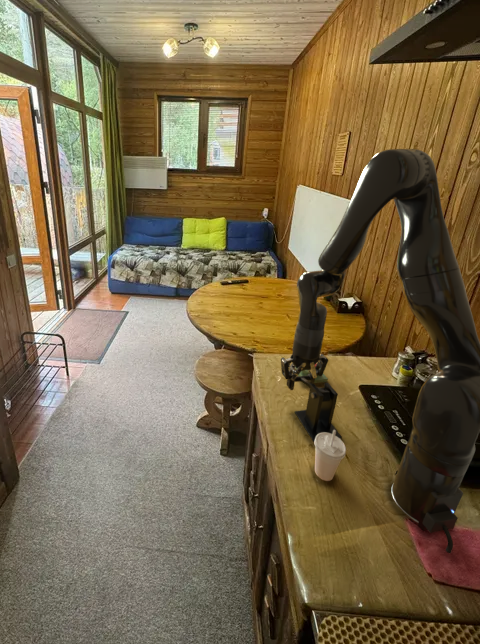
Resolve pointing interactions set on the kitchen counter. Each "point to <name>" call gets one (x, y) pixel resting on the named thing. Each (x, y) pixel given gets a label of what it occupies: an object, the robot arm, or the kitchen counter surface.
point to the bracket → (318, 412)
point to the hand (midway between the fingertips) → (299, 387)
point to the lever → (306, 381)
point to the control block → (317, 380)
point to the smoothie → (328, 454)
